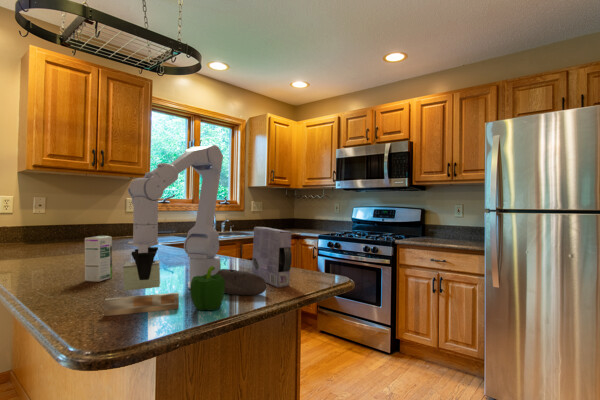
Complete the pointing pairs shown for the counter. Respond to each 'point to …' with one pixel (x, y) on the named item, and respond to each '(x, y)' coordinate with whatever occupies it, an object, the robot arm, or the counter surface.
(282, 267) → the cake pan box
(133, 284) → the tea tin
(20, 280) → the counter surface
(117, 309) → the shelf board
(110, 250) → the syrup box
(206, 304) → the bell pepper
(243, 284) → the perforated stone tool
